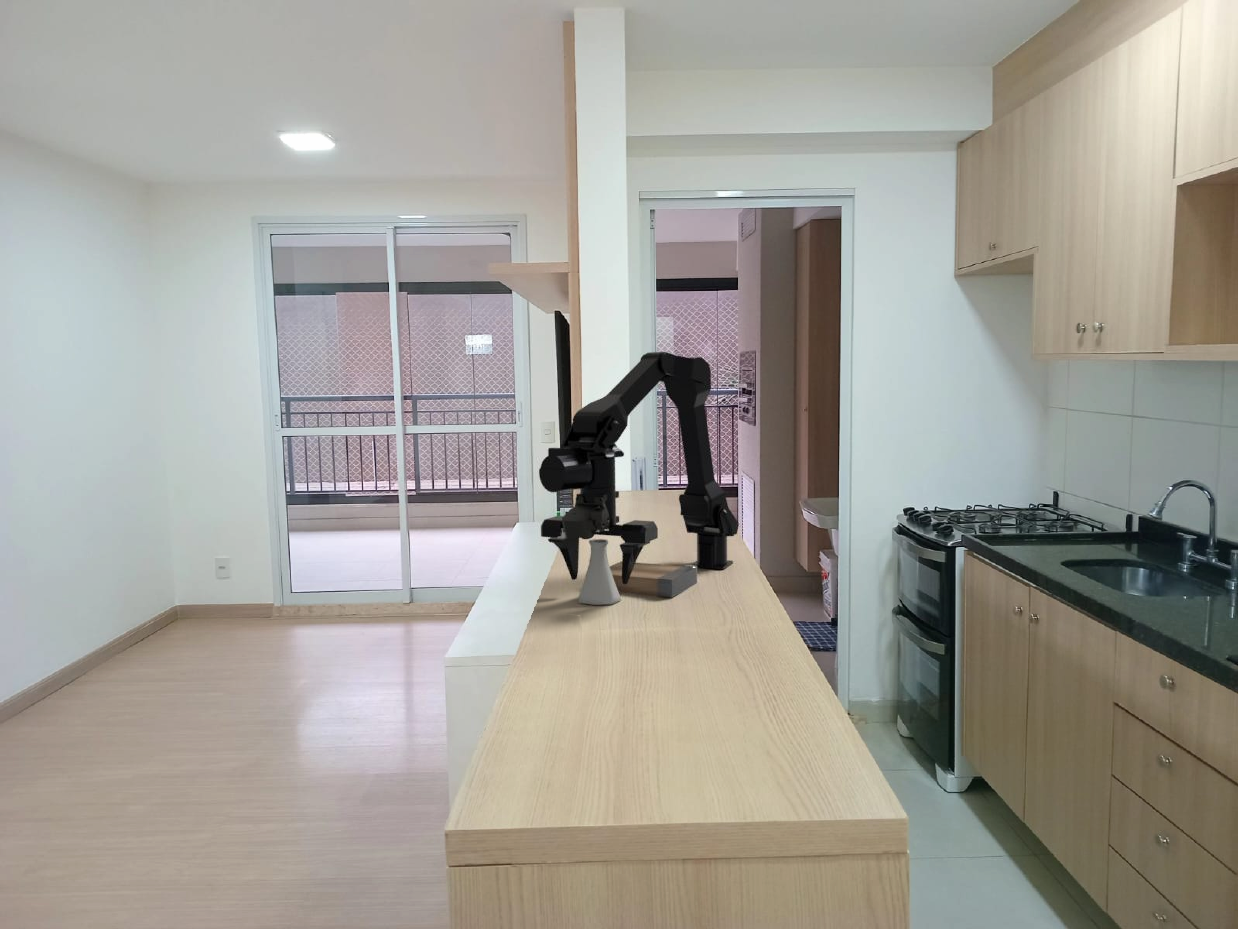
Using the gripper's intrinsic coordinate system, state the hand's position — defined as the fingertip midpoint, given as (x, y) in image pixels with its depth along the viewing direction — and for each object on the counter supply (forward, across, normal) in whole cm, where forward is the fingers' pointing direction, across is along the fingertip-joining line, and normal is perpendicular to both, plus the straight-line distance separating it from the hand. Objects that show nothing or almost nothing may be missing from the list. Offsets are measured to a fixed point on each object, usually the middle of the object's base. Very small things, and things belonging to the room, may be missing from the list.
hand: (599, 581), depth 140 cm
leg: (+3, +10, +16) cm, 19 cm away
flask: (+3, 0, 0) cm, 3 cm away
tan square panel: (+3, +2, +12) cm, 12 cm away
